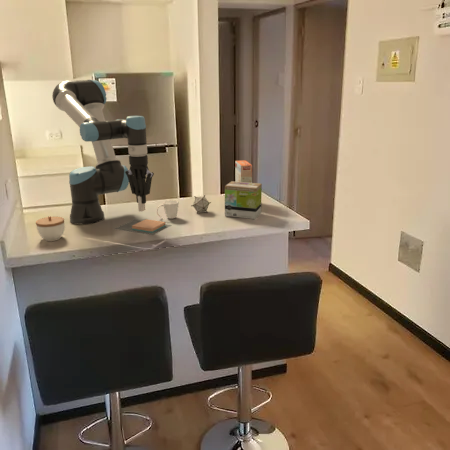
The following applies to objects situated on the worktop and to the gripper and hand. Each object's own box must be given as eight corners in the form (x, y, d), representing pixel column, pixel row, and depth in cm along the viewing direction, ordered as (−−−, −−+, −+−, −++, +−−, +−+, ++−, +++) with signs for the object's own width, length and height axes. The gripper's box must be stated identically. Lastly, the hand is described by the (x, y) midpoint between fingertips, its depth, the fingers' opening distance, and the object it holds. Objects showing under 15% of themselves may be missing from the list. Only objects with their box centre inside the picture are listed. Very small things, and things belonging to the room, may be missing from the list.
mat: (114, 229, 201) (114, 228, 201) (134, 220, 213) (134, 219, 212) (153, 236, 192) (153, 235, 192) (171, 226, 204) (171, 225, 204)
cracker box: (252, 207, 231) (252, 164, 225) (240, 207, 230) (240, 165, 224) (246, 199, 245) (246, 159, 238) (235, 200, 244) (234, 160, 237)
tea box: (224, 217, 217) (223, 185, 212) (231, 211, 226) (230, 180, 221) (256, 219, 212) (256, 187, 207) (261, 213, 221) (262, 182, 216)
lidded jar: (32, 240, 190) (29, 217, 187) (55, 232, 199) (52, 211, 196) (49, 245, 184) (46, 222, 181) (71, 237, 193) (69, 215, 190)
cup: (180, 221, 211) (179, 203, 209) (157, 222, 210) (156, 205, 207) (178, 216, 218) (177, 199, 216) (156, 218, 216) (155, 201, 214)
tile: (132, 225, 198) (151, 228, 194) (146, 219, 207) (165, 222, 202) (132, 229, 199) (152, 232, 194) (146, 223, 207) (165, 226, 203)
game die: (204, 220, 224) (208, 207, 216) (187, 214, 224) (190, 200, 216) (210, 207, 229) (214, 194, 221) (194, 201, 230) (197, 187, 222)
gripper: (119, 155, 192) (124, 211, 200) (145, 157, 187) (149, 214, 194) (130, 152, 199) (134, 206, 206) (156, 154, 193) (159, 210, 200)
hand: (142, 210), depth 200 cm, fingers closed
